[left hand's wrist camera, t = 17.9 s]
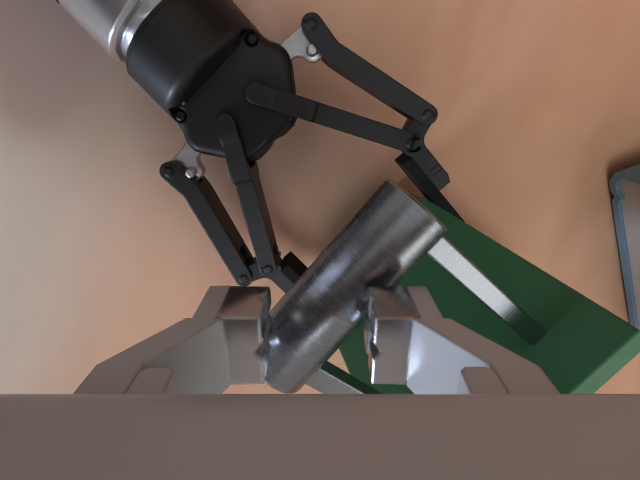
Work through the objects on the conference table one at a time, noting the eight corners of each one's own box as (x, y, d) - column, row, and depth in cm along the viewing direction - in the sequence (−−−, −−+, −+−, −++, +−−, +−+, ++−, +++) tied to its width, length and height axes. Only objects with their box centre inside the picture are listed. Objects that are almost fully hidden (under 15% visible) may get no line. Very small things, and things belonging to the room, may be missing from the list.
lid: (651, 342, 12) (488, 147, 8) (432, 539, 13) (205, 454, 9) (430, 204, 24) (325, 102, 20) (330, 313, 25) (215, 237, 22)
